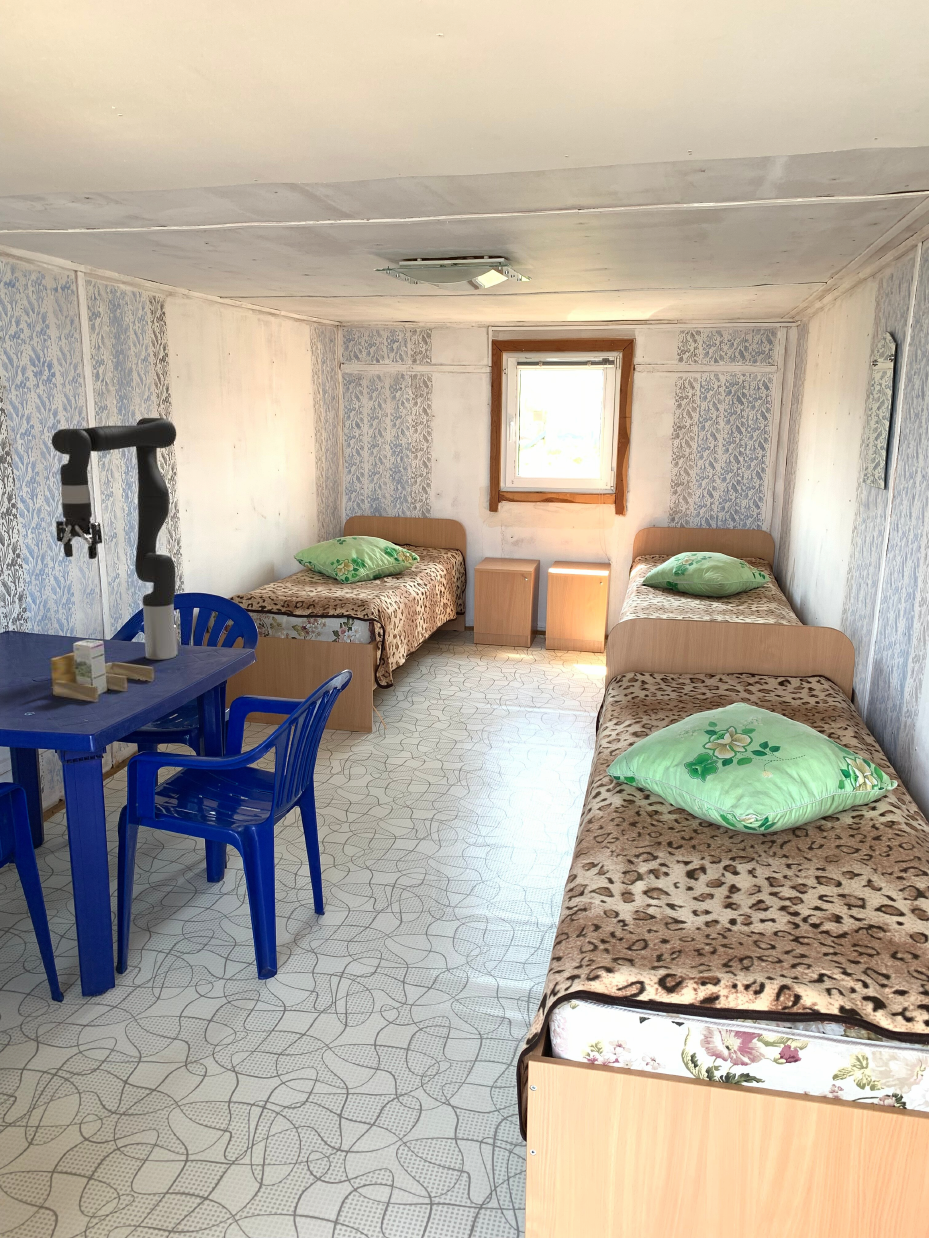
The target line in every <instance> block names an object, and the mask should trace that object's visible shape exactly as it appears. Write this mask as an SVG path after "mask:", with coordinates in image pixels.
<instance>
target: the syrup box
mask: <svg viewBox="0 0 929 1238" xmlns="http://www.w3.org/2000/svg"><path fill="white" fill-rule="evenodd" d="M104 645H105V643H104V641H103V640H95V639H83V640H79V641H76V642H75V643H73V645H72V646H73V647H72V648H73V653H74V661H75V673H76V683H78V684H85V685H91V686H97V687H98V695H100V694H102V693H105V692H107V690H108V689H107V685H106V673H105V664H106V662H105V647H104Z"/></svg>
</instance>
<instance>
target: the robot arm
mask: <svg viewBox="0 0 929 1238" xmlns="http://www.w3.org/2000/svg"><path fill="white" fill-rule="evenodd" d="M176 439H177V429H176V427H175V424H174V423H173V422H171V420H169V419H166V418H164V417H142V418H141V419H138V421H137V422H136V424H135V425H101V426H93V427H92V426H91V427H86V428H61V429H57V430H56V431H55V432H54V434H53V435H52V437H51V444H52V445H51V446H52V447H53V449H54V450H55V451H56V452H58V453H60V454H62V455H67V456H68V461H67V463H63V464H62V465H61V466H60V471H59V473H60V483H61V485H60V486H61V487H60V488H61V490H60V491H61V492H60V495H61V507H62V508H61V509H62V517H63V518H64V519H65V520H64V519H63V520H62V519H61V520H56V522H55V524H56V525H55V526H56V527H55V529H56V530H55V531H56V532H55V533H56V541H57V542H58V543H59V542H60V543H61V544H63V554H64V556H65V557H66V558H73V556H74V553H73V543H72V542H73V540H74V539H75V538H76V537H77V538H82V540H83V541H85V542H86V544H87V545H88V546H87V551H88V552H87V553H88V559H89V560H95V559H96V558H97V557H98V549H97V548H98V547H97V545H100V544H102V543H103V537H102V536H103V535H102V526H101V522H91V518H92V516H93V515H92V502H91V501H92V500H91V491H90V487H89V476H88V468H89V464H90V459H91V454H92V453H91V452H93V453H94V452H96V453H97V452H98V453H99V452H105V451H106V452H107V451H115V450H121V449H127V448H128V449H129V448H134V447H135V451H136V461H137V462H136V463H137V486H138V487H137V515H138V517H137V521H138V522H137V541H136V553H135V561H134V562H135V564H134V565H135V566H134V567H135V574H136V576H137V578H138V579H139V580H140V581H141V582H144V583H150V584H153V587H152V591H151V592H149V593H146V594H144V595H143V597H142V608H143V609H142V610H143V612H142V613H143V628H144V629H143V630H144V644H145V645H144V646H145V647H144V648H145V658H146V659H149V660H169V659H172V658H174V657H175V658H176V655H178V654H179V651H178V650H179V649H178V632H177V625H175V610H174V608H175V607H174V604H175V603H174V599H175V595H176V565H175V562H174V560H173V558H172V557H171V556H169V555H167V554H161V553H159V554H158V553H157V541H158V540H157V539H158V536H159V533H160V532H161V530H162V528H163V526H164V524H165V522H166V520H167V519H168V515H169V512H170V492H169V491H170V490H169V488H168V485H167V482H166V481H165V479H164V477H163V475H162V473H161V471H160V467H159V464H158V455H157V454H158V449H166V448H169V447H170V446H172V445H173V444H174V442H176Z"/></svg>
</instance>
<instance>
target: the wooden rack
mask: <svg viewBox="0 0 929 1238" xmlns="http://www.w3.org/2000/svg"><path fill="white" fill-rule="evenodd" d="M50 667H51V669H50V670H51V680H52V681H51V682H52V694H53V695H54V696H56V697H57V696H58V697H63V698H71V699H76V700H82V701H89V702H95V703H96V702H99V694H98V687H97V686H91V685H85V684H78V683H76V673H75V661H74V652H71V653H68V654H67V653H66V654H64V655H59V656H56V657H53V658H50ZM105 673H106V685H107V690H115V691H121V692H126V691H128V679H132V680H138V679H140V681H145V680H148V681H147V682H154V681H155V677H154V676H155V669H154V667H153V666H148V665H147V666H145V665H139V664H132V663H126V662H125V663H124V662H116V661H115V662H108V663H105ZM153 680H154V681H153Z"/></svg>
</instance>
